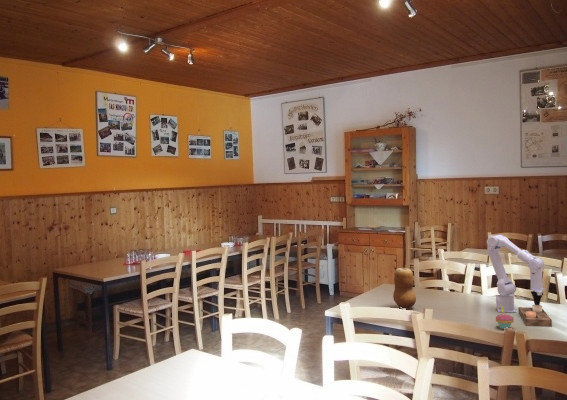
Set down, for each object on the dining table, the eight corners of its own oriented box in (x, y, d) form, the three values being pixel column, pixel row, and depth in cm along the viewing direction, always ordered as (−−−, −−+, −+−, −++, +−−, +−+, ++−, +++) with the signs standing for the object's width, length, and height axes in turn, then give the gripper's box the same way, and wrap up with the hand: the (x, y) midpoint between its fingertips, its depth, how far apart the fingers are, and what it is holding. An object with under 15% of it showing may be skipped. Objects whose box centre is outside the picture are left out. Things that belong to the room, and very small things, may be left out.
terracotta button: (527, 322, 249) (526, 313, 249) (525, 320, 254) (525, 311, 254) (537, 323, 248) (536, 313, 248) (535, 320, 252) (534, 311, 252)
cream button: (533, 315, 257) (533, 306, 257) (531, 313, 262) (531, 304, 262) (543, 316, 256) (543, 307, 256) (541, 313, 260) (541, 304, 260)
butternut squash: (420, 309, 285) (419, 268, 284) (402, 313, 280) (400, 271, 279) (406, 304, 298) (404, 265, 296) (388, 307, 293) (387, 268, 291)
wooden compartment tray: (526, 325, 246) (526, 319, 246) (518, 313, 267) (518, 307, 267) (551, 326, 243) (551, 319, 242) (542, 313, 264) (541, 307, 263)
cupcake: (492, 326, 249) (491, 303, 248) (507, 324, 249) (507, 302, 249) (501, 331, 240) (500, 308, 239) (517, 330, 241) (516, 306, 240)
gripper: (547, 283, 250) (548, 308, 250) (541, 277, 264) (542, 301, 264) (533, 283, 252) (533, 308, 253) (527, 277, 266) (528, 301, 266)
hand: (537, 304), depth 259 cm, fingers closed
